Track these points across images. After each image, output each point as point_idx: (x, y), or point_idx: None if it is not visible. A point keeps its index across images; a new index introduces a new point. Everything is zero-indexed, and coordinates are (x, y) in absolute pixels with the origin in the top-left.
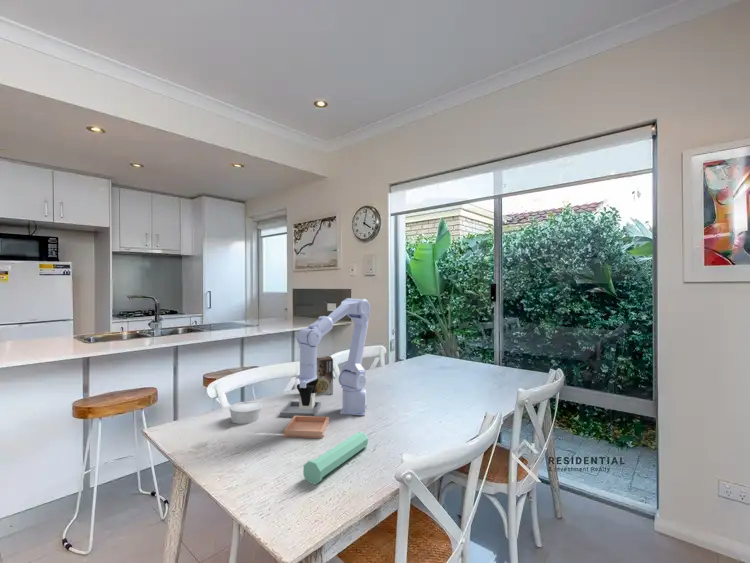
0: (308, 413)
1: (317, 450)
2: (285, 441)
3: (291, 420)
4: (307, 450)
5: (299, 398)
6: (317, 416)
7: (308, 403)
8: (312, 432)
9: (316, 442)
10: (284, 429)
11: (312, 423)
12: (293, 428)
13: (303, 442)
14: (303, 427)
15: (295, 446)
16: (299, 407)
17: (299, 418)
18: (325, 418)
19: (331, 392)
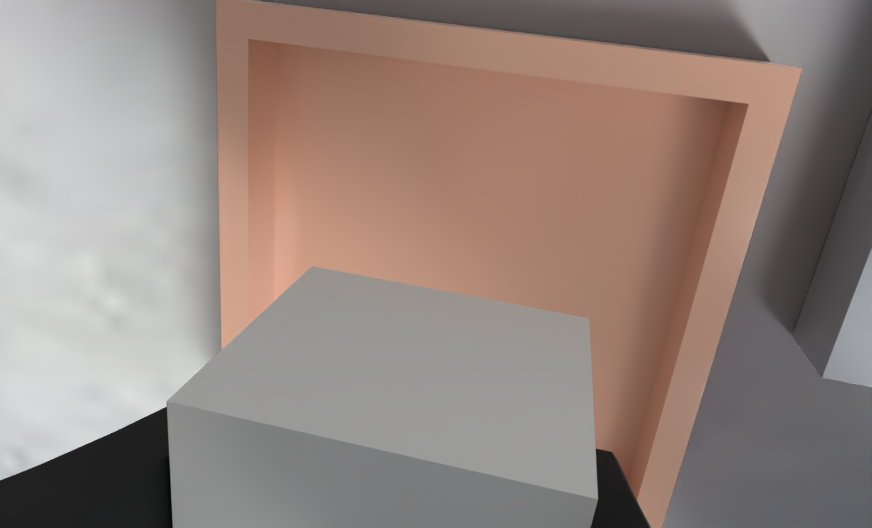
0: (855, 295)
1: (38, 367)
2: (150, 46)
3: (568, 50)
4: (20, 288)
5: (198, 379)
6: (692, 419)
7: None
8: None
9: (172, 360)
10: (230, 2)
11: (598, 328)
12: (446, 97)
13: (156, 243)
14: (476, 225)
15: (66, 173)
16: (302, 282)
17: (725, 156)
18: None
19: None
